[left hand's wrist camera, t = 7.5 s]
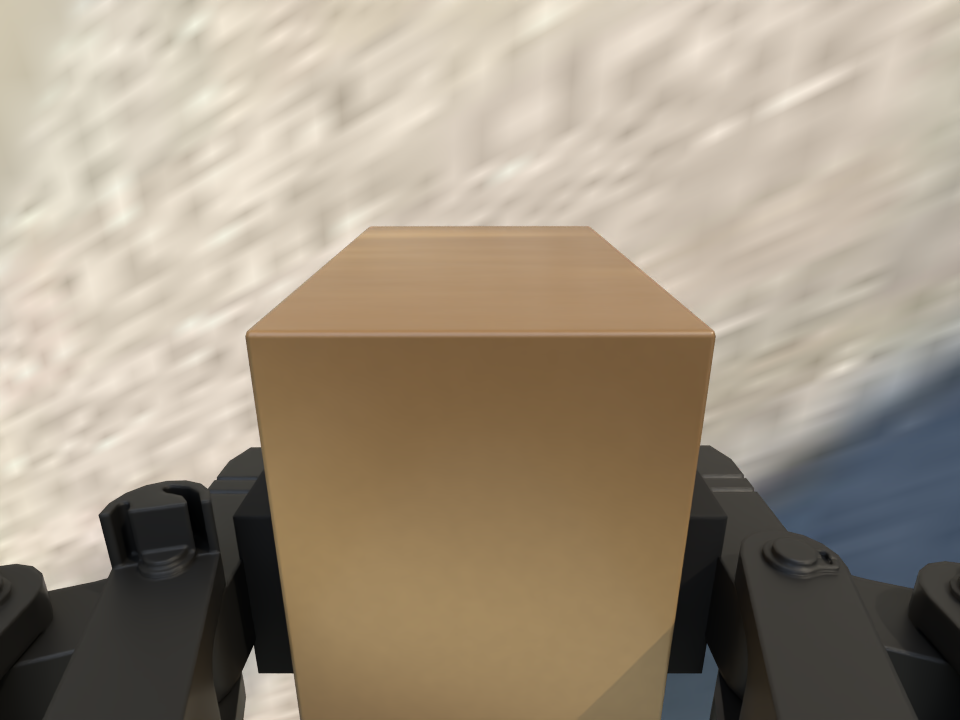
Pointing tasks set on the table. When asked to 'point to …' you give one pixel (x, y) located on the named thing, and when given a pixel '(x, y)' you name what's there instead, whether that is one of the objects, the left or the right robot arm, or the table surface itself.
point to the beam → (480, 474)
